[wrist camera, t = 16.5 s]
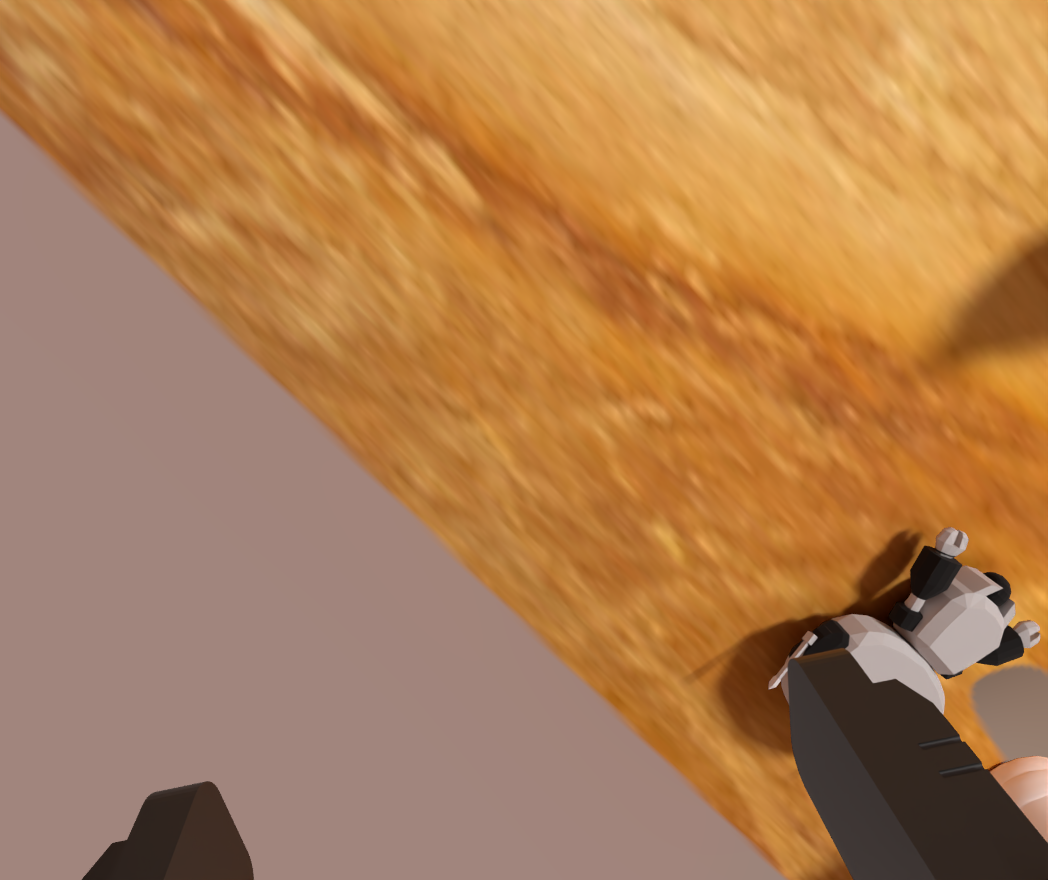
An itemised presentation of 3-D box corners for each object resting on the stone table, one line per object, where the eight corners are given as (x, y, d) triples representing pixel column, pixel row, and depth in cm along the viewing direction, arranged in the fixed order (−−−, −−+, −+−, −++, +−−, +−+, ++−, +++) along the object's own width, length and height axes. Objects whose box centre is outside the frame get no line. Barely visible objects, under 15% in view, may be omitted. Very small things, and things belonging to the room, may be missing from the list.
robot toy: (924, 494, 46) (735, 653, 49) (975, 528, 42) (766, 700, 44) (1017, 611, 51) (839, 753, 53) (1072, 652, 46) (877, 805, 49)
